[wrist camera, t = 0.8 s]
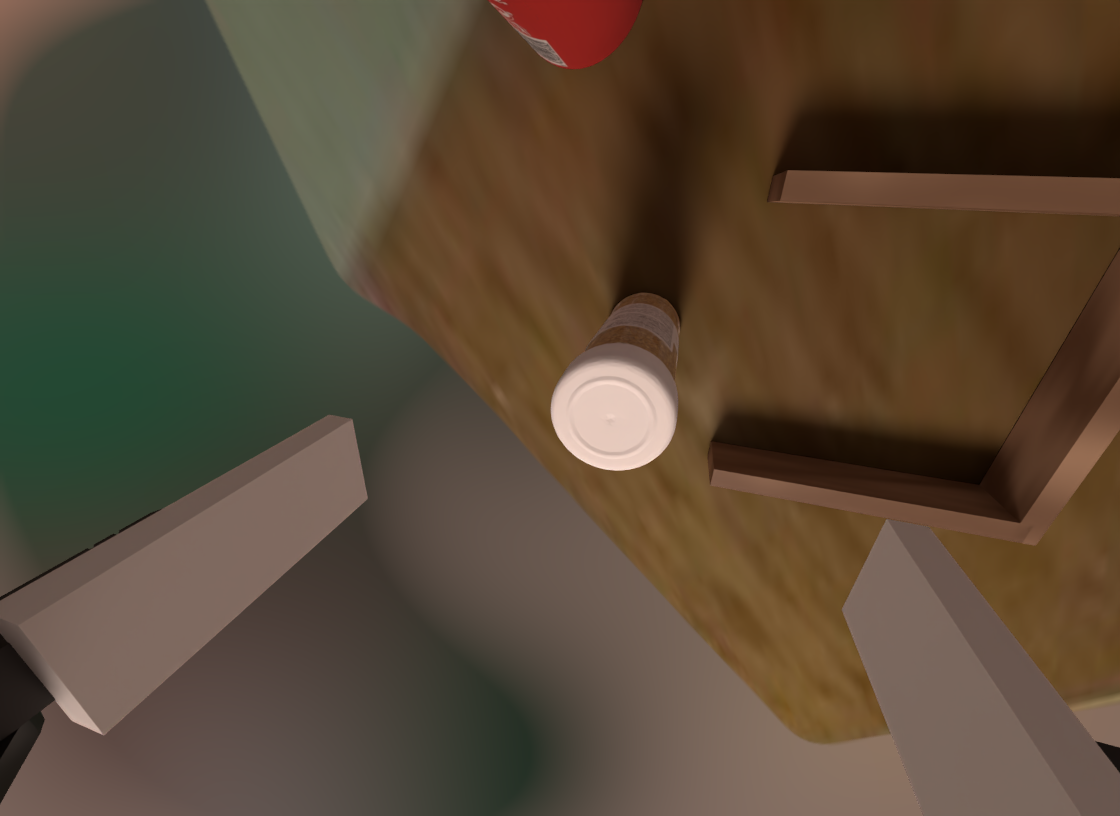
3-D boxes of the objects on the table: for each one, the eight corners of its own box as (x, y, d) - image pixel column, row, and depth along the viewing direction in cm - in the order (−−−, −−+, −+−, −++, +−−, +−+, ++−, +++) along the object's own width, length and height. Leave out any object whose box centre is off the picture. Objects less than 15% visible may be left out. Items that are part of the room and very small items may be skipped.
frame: (773, 176, 21) (787, 170, 18) (1193, 187, 18) (1298, 182, 15) (707, 456, 29) (710, 485, 26) (993, 505, 25) (1035, 545, 22)
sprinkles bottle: (653, 374, 27) (629, 496, 16) (594, 337, 27) (526, 432, 16) (696, 315, 25) (706, 406, 13) (632, 275, 25) (586, 331, 13)
